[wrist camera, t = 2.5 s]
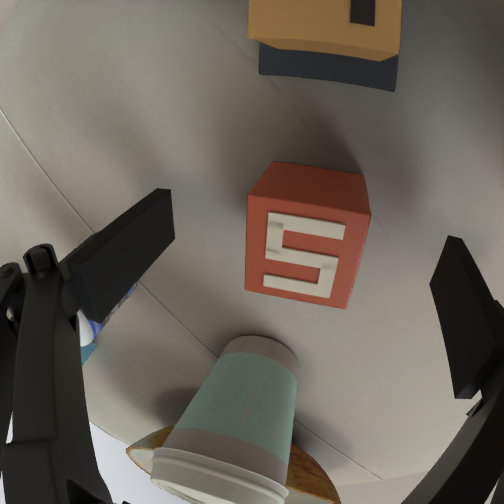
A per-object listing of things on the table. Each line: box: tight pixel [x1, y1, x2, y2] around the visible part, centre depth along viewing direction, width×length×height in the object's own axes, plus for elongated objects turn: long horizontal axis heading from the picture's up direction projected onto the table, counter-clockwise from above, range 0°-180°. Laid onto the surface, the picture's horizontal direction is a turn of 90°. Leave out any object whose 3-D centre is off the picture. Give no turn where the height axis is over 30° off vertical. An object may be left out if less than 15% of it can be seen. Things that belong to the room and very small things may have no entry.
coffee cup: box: [150, 335, 298, 504], centre depth 18 cm, size 8×8×12 cm
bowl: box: [126, 425, 341, 504], centre depth 30 cm, size 25×25×8 cm
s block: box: [245, 161, 371, 309], centre depth 14 cm, size 4×4×5 cm
